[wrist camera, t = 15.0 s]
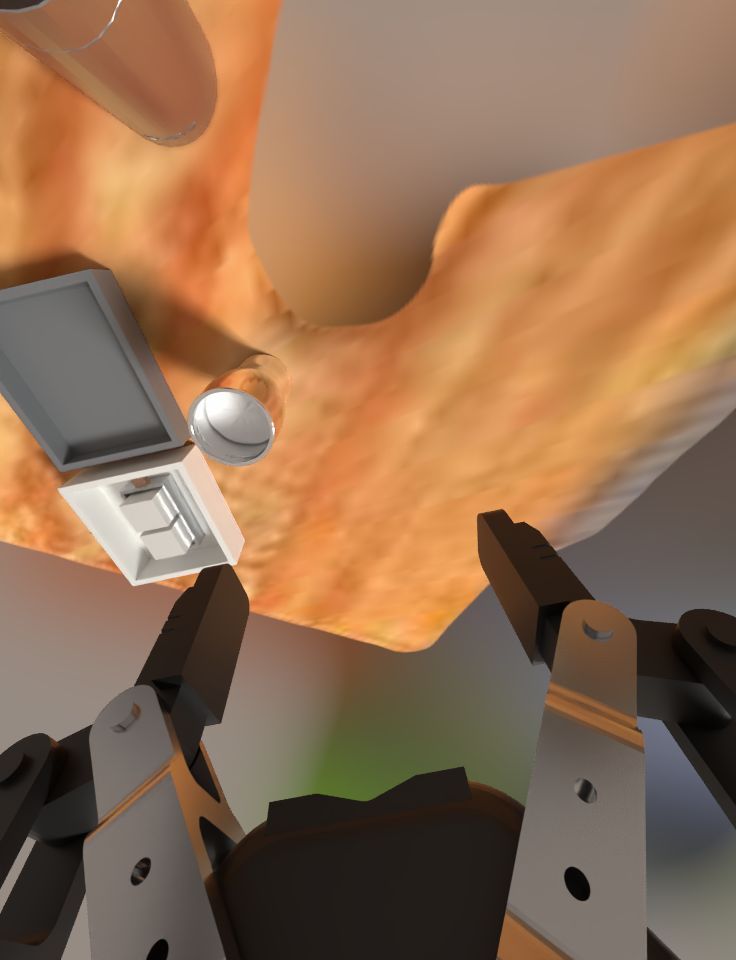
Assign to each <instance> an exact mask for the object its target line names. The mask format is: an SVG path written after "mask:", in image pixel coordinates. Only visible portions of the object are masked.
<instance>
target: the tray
mask: <svg viewBox="0 0 736 960" xmlns="http://www.w3.org/2000/svg"><path fill="white" fill-rule="evenodd" d="M0 393H1V394H2V396H3V397H4V398H5V400H6V401H7V402H8V403H9V405H10V406H11V407H12V409H13V410H14V411H15V413H16V414H17V415H18V417H19V418H20V419H21V421H22V422H23V423H24V425H25V426H26V427H27V429H28V430H29V431H30V433H31V434H32V435H33V437H34V438H35V439H36V441H37V442H38V443H39V445H40V446H41V447H42V449H43V450H44V451H45V453H46V454H47V455H48V457H49V458H50V459H51V461H52V462H53V463H54V465H55V466H56V467H57V469H58V470H59V471H60V473H61V472H66V471H70V470H75V469H79V468H84V467H88V466H93V465H97V464H102V463H107V462H111V461H116V460H120V459H125V458H129V457H134V456H138V455H143V454H148V453H152V452H157V451H161V450H166V449H170V448H175V447H180V446H183V445H184V444H185V442H186V441H187V440H188V439H189V438H190V437H191V436H190V433H189V430H188V425H187V422H186V420H185V418H184V416H183V414H182V412H181V410H180V408H179V406H178V404H177V402H176V400H175V398H174V396H173V394H172V392H171V390H170V388H169V386H168V384H167V382H166V380H165V378H164V376H163V374H162V372H161V370H160V368H159V366H158V364H157V362H156V360H155V358H154V356H153V354H152V352H151V350H150V348H149V346H148V344H147V342H146V340H145V338H144V336H143V334H142V332H141V330H140V328H139V326H138V323H137V321H136V319H135V317H134V315H133V313H132V311H131V309H130V307H129V305H128V303H127V301H126V299H125V297H124V295H123V293H122V291H121V289H120V287H119V285H118V283H117V281H116V279H115V277H114V275H113V273H112V271H111V270H102V269H88V270H83V271H79V272H75V273H71V274H66V275H62V276H58V277H54V278H49V279H45V280H41V281H37V282H32V283H28V284H24V285H20V286H15V287H11V288H7V289H3V290H0Z"/></svg>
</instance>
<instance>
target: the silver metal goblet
mask: <svg viewBox="0 0 736 960" xmlns="http://www.w3.org/2000/svg"><path fill="white" fill-rule="evenodd" d="M291 388H292V380H291V376H290V373H289V371H288V369H287V368H286V366H285V365H284V364H283V363H282V362H281V361H280V360H278V359H277V358H275V357H273V356H270V355H266V354H256V355H253V356H250V357H248V358H247V359H246V360H244V361H243V363H242V364H241V365H240V367H239V368H236V369H233V370H230V371H227V372H225V373H223V374H221V375H220V376H218V377H217V378H215V379H214V380H213V381H212V382H211V383H210V384H209V385H208V386H207V387H206V388H205V389H204V390H203V391H202V393H201V394H200V395H199V396H198V397H197V398H196V399H195V400H194V402H193V403H192V405H191V407H190V409H189V412H188V419H187V423H188V430H189V433H190V436H191V438H192V440H193V441H194V443H195V445H196V446H197V447H198V448H199V449H200V450H201V451H202V452H203V453H204V454H205V455H206V456H208V457H209V458H211V459H212V460H214V461H216V462H219V463H221V464H225V465H229V466H247V465H251V464H253V463H256V462H258V461H259V460H261V459H262V458H264V457H265V456H266V455H267V454H268V452H269V451H270V449H271V447H272V445H273V443H274V442H275V440H276V438H277V437H278V435H279V433H280V430H281V428H282V425H283V422H284V418H285V400H286V399H287V398H288V396H289V394H290V392H291Z"/></svg>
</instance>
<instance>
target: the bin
mask: <svg viewBox="0 0 736 960" xmlns="http://www.w3.org/2000/svg"><path fill="white" fill-rule="evenodd" d="M166 474H172V476H173V478H174V480H175V481H176V483H177V485H178V487H179V489H180V490H181V492H182V494H183V496H184V497H185V499H186V501H187V503H188V505H189V506H190V508H191V510H192V512H193V513H194V515H195V517H196V519H197V521H198V522H199V524H200V526H201V528H202V530H203V531H204V533H205V537H204V539H203V541H202V543H201V544H200V546H197V547H193V548H188V550H187V552H186V554H183V555H178V556H173V557H168V558H164V559H159V560H155V558H154V557H153V555H152V554H151V553H150V551H149V550H148V548H147V547H146V545H145V544H144V542H143V541H142V540H141V538H140V535H141V534H142V533H143V532H139V533H137V532H136V531H135V529H134V528H133V527H132V525H131V524H130V522H129V521H128V519H127V518H126V516H125V515H124V514H123V512H122V511H121V509H120V508H119V506H120V505H121V504H122V503H123V502H124V500H123V499H122V497H121V496H120V494H119V493H118V492H119V491H120V490H122V489H123V488H124V487H125V486H126V485H127V484H128V483H129V482H132V481H131V479H136V478H141V477H145V476H148V478H152V477H157V476H161V475H166ZM58 491H59V492H60V493H61V495H62V496H63V497H64V498H65V500H66V501H67V502H68V504H69V505H70V506H71V507H72V509H73V510H74V511H75V513H76V514H77V515H78V516H79V518H80V519H81V520H82V521H83V523H84V524H85V525H86V527H87V528H88V529H89V530H90V532H91V533H92V534H93V536H94V537H95V538H96V539H97V541H98V542H99V543H100V545H101V546H102V547H103V548H104V550H105V551H106V552H107V554H108V555H109V556H110V557H111V559H112V560H113V561H114V562H115V564H116V565H117V566H118V568H119V569H120V570H121V571H122V573H123V574H124V575H125V577H126V578H127V579H128V580H129V582H130V583H131V584H132V585H133V586H136V585H140V584H146V583H150V582H155V581H160V580H165V579H170V578H174V577H179V576H184V575H189V574H194V573H198V572H200V571H201V570H202V569H203V568H206V567H211V566H216V565H221V564H226V563H228V564H230V565H231V566H232V565H237V562H238V559H239V556H240V553H241V550H242V547H243V545H244V542H245V540H244V538H243V536H242V534H241V532H240V530H239V528H238V526H237V523H236V521H235V519H234V517H233V515H232V513H231V511H230V509H229V507H228V505H227V503H226V501H225V499H224V497H223V495H222V493H221V491H220V489H219V487H218V485H217V483H216V481H215V479H214V477H213V475H212V473H211V471H210V469H209V467H208V465H207V463H206V461H205V459H204V457H203V455H202V453H201V451H200V449H199V448H198V447H197V446H196V445H195V444H193V445H188V446H183V447H179V448H174V449H170V450H165V451H161V452H156V453H152V454H147V455H142V456H138V457H133V458H129V459H124V460H120V461H115V462H110V463H106V464H101V465H97V466H92V467H88V468H84V469H83V470H82V471H80V472H79V473H78V474H76V475H75V476H74V477H72V478H71V479H70V480H68V481H67V482H66V483H64V484H63V485H62V486H60V487H59V488H58Z"/></svg>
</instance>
